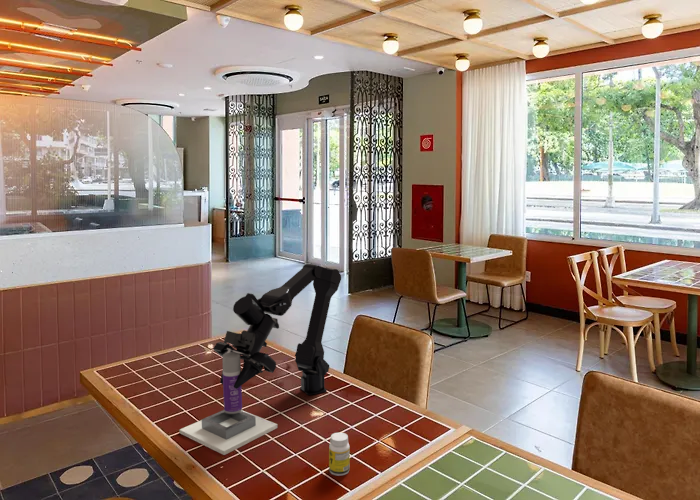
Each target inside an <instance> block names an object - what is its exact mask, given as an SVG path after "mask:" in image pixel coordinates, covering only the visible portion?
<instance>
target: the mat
mask: <svg viewBox="0 0 700 500" xmlns="http://www.w3.org/2000/svg"><path fill="white" fill-rule="evenodd" d="M241 411H243V412H245V413H248V414H250V415H253V416H255V417H256V426H254V427H252V428H250V429H247V430H245V431H243V432H241V433H239V434H237V435H235V436H233V437H231V438H229V439H227V440H226V439H224V438H221V437H219V436H217V435H215V434H213V433H211V432H209V431H206V430H204V429H202V419H201V420H198V421H196V422H194V423H191V424H189V425H187V426H185V427H182V428H180V429H179V434H181V435H183V436H184V437H186V438H189V439H191V440H192V441H195V442H196V443H199V444H200V445H202V446H205V447H206V448H209V449H210V450H212V451H215V452H217V453H219V454H221V455H223V456H226V455H227V454H229V453H231V452H233V451H235V450H237V449H239V448H241V447H243V446H245V445H247V444H248V443H251V442H252V441H254V440H256V439H258V438H261V437H263V436H264V435H267V434H268V433H271V432H272V431H274V430H276V429H278V423H275V422H273V421H270V420H267V419H266V418H263V417H260V416H258V415H255V414H253V413H250V412H247V411H244V409H242V410H241ZM237 422H239V421H237V420H234V419H232V418H230V419H227V420H225V421H223V422H221V423H219V424H220V425H223V426H225V427H229V426H231V425H233V424H235V423H237Z"/></svg>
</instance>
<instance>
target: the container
mask: <svg viewBox="0 0 700 500" xmlns="http://www.w3.org/2000/svg"><path fill="white" fill-rule="evenodd" d="M222 370H223V384H222V391H223V392H222V393H223V395H222V396H223V410H224V412H226V413H229V414H234V413H238V412H240V411H241V410H243V395H242V394H243V392H242V389H243V388H242V386H243V385H241V386H240V387H239V388H237V389H236V388H234V385H235V382H236V380H237V378H238V376H239V374H240V372H241V371H242V366H241V359H240V354H239V353H237V352H229V353H225V354H223V357H222Z"/></svg>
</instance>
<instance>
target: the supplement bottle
mask: <svg viewBox="0 0 700 500" xmlns="http://www.w3.org/2000/svg"><path fill="white" fill-rule="evenodd" d="M350 448H351V447H350V444H349V436H348V434H347V433H345V432H334V433H332V434H331V435H330V443H329V446H328V471H329V473H330V474H331V475H333V476H338V477H340V476H345V475H347V474H349V471H350V469H351V468H350V467H351V466H350V462H351V461H350V455H351V454H350V453H351V451H350Z"/></svg>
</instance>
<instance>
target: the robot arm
mask: <svg viewBox="0 0 700 500" xmlns="http://www.w3.org/2000/svg"><path fill="white" fill-rule="evenodd" d="M341 282H342V275H341V272H340V271H339V269H337V268H330V267H323V266H320V265H319V264H317V263H316V264H315V263H306V264H303V266H302V268H301V269H299V270H298V271H297V273H295V274H294V275H292V277H291V278H290V279H288V280H287V281H286V282H285V283H283V284H282V285H281V286H279V287H277V288H273V289H270V290H269V291H267V292H265V293H264V294H262V296H261V297H260V298H258V299H257V296H256V295H255V294H254V293H249V292H248V293H246V294H245V296H241V297H240V298H239V299H238V300H236V301H235V303H234V304H233V307H232V308H233V309H232V311H233V313H234V314H235V315H236V316H237V317H238V318H239V319H240V320H241V321H243V323H244V324H246V325H248V326H249V327H248V329H247V330H245V329H244V330H242V331H241V332H240V333H237V332H234V331H233V332H232V331H230V330H226V332H225V336H224V340H223V341H219V342H216V344H215V345H214V347H213V349H212V350H213V351H214V352H216V353H217V354H218V355H219V356H220V357H221V358H223V354H225V353H229V352H237V353H239V354H240V360H243V362H242V363H243V366H242V368H241V372H240V374H239V376H238V378H237V380H236V382H235V385H234V388H236V389H237V388H239V387H240V386H243V385H244V384H246V383H247V382H248V381H249V380H251V379H253V378H254V377H255V376H257V375H259V374H260V373H261V374H262V373H263V372H264V371H265V372H269V373H271V374H274V372H275V370H276V368H277V362H276V361H275V360H274V359H273V358H272V357H271V356H270V355H269V354H268V353H264V352H261V350H262V348H263V347H265V348H266V347H267V345H268V343H267V342H266V341H267V339H268V337H269V335H270V334H271V331H272V330H273V328H274V329H279V328H280V324H279V322H278V320H279V319H278V318H276V317H272V316H271V315H274V316H277V317H278V316H280V317H282V316H284V315H285V314H286V313H287V312H288V311H289V310H290V309H291V307H292V303H293V300H294V298H296V297H297V296H298V295H299V294H300V293H301V292H302V291H304V289H305V288H306V287H308V286H309V285H310V284H311V283H312V287H313V290H314V293H315V296H314V300H313V305H312V310H311V313H310V317H309V323H308V326H307V331H306V336H305V339H304V340H303V342H300V343H298V344H297V346H296V350H295V351H296V352H295V354H294V358H295V359H294V361H295V363H296V366H297V370H298V372H299V371H300V372H302V373H301V375H302V376H301V377H300V389H301V391H302V392H304V393H305V394H306V395H308V396H312V395H317V394H321V393H326V392H327V391H328V390H327V389H326V388H325V375H327V373H329V369H330V364H329V363H328V362H327V361H326V359H324V357H325V350H324V346H323V343H322V342H323V341H322V340H323V336H324V331H325V328H326V327H325V326H326V322H327V318H328V312H329V309H330V304H331V300H332V297H333V296H334V295H335V294H336V292H337V291H338V290H339V287H340V284H341ZM263 370H264V371H263ZM219 383H220V384H221V385H223V369H222V371H221V376H220V382H219Z"/></svg>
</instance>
